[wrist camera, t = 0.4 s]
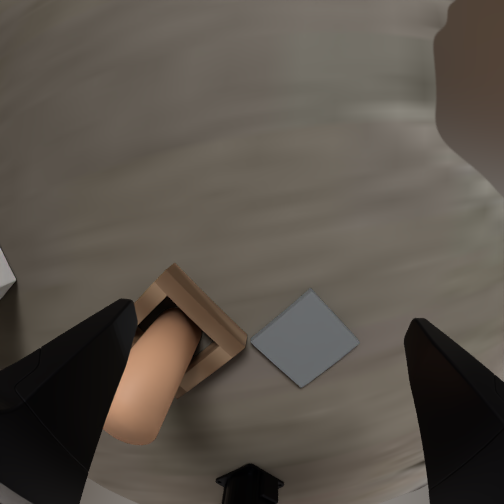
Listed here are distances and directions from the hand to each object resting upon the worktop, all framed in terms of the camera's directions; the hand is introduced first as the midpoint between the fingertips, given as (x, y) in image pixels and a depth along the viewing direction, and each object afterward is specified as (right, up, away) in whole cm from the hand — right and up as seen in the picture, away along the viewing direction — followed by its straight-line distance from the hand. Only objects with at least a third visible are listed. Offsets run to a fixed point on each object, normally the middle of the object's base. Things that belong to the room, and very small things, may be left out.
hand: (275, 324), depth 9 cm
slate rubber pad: (+4, -6, +18) cm, 19 cm away
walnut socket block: (-7, -5, +18) cm, 20 cm away
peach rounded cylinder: (-7, -5, +18) cm, 20 cm away
